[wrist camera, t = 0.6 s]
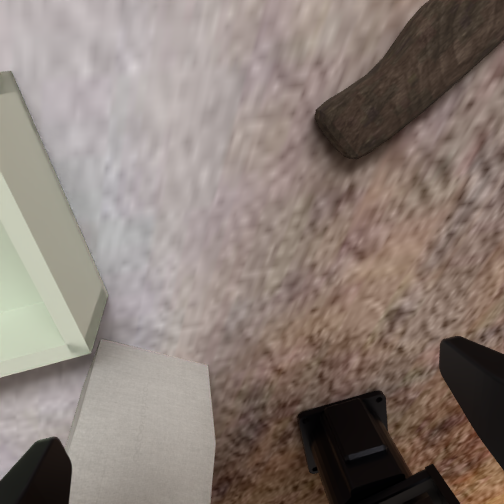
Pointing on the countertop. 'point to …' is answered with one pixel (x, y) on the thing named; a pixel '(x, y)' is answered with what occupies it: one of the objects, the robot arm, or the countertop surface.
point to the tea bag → (142, 430)
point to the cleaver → (412, 73)
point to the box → (40, 253)
